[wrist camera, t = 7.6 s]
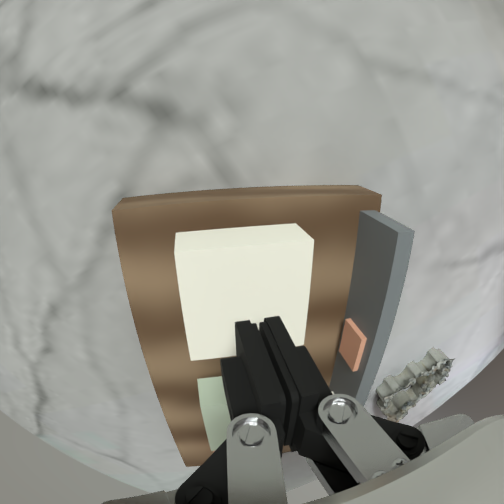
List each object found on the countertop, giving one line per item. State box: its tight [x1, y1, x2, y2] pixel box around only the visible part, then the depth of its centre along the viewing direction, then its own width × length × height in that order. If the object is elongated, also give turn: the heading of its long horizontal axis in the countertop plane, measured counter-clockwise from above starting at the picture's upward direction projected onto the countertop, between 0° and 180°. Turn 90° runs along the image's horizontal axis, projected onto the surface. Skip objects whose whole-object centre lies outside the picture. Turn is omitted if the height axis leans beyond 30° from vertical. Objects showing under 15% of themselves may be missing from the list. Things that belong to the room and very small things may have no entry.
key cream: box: [174, 223, 314, 361], centre depth 15 cm, size 6×6×2 cm
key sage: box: [197, 376, 231, 451], centre depth 19 cm, size 6×6×2 cm
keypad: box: [112, 185, 415, 467], centre depth 21 cm, size 28×16×7 cm, turn 1°
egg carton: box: [376, 347, 454, 422], centre depth 31 cm, size 11×8×4 cm
